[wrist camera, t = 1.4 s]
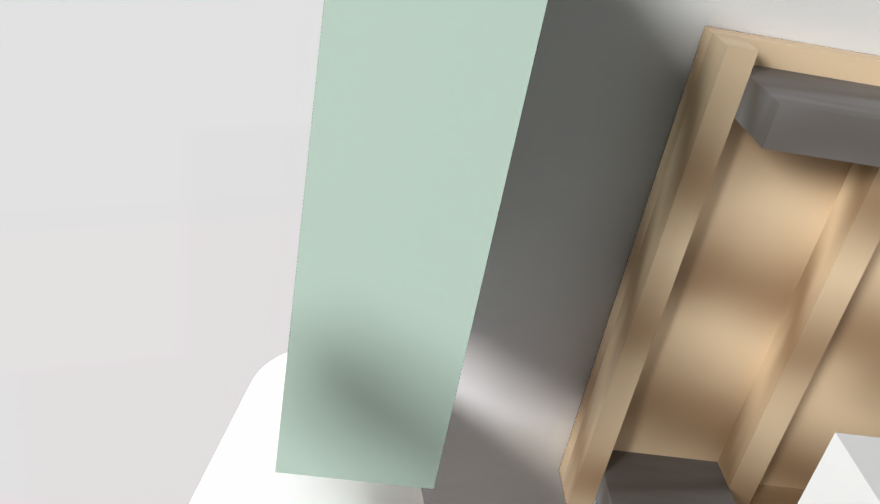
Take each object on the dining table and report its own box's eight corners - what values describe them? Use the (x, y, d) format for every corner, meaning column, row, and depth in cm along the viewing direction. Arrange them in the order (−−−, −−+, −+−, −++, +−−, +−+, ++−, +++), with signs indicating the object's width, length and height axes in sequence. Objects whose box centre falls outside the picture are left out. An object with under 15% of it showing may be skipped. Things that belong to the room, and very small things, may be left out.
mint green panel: (371, -177, 24) (338, -139, 14) (506, -150, 25) (572, -95, 14) (321, 238, 31) (275, 472, 21) (428, 253, 32) (435, 489, 21)
